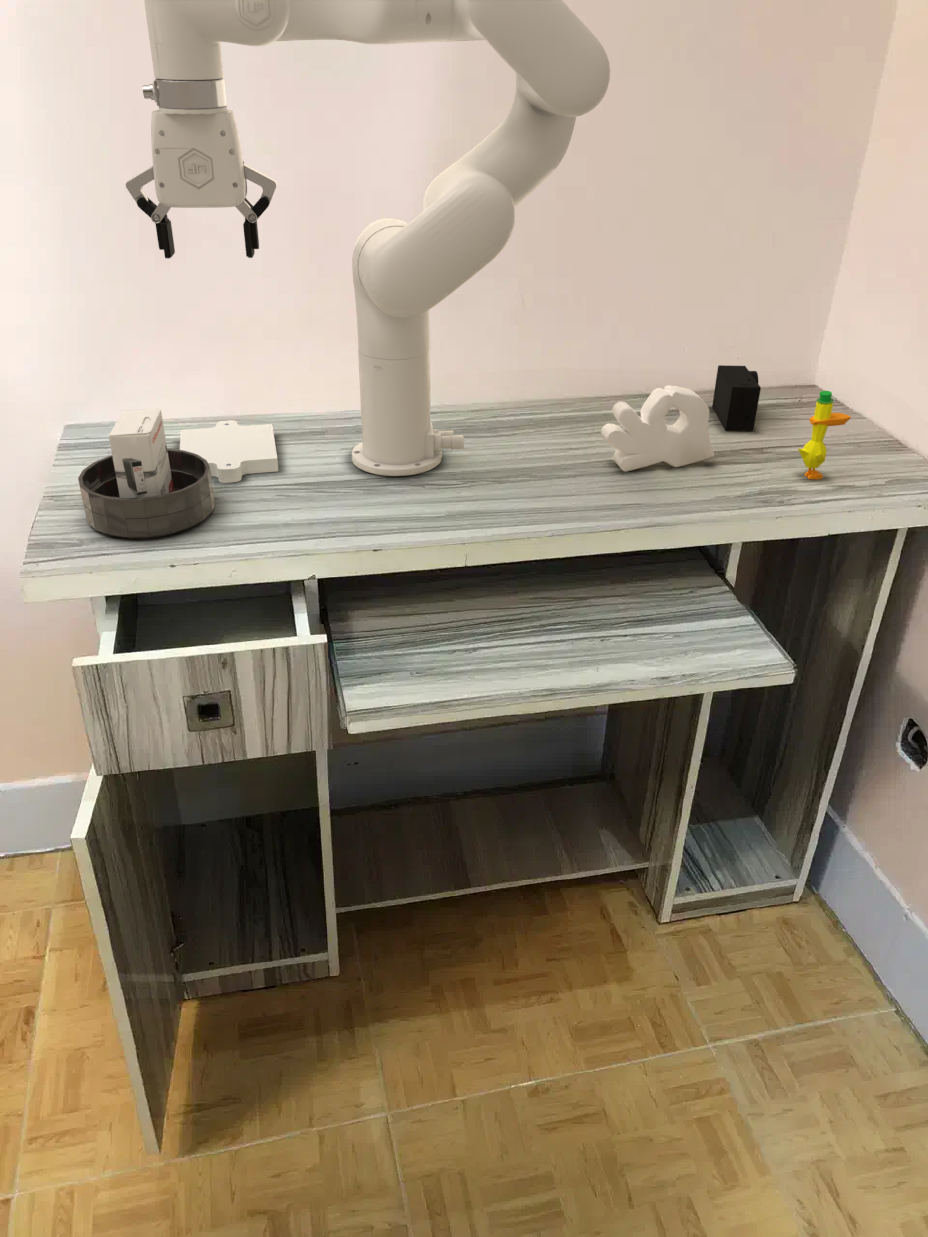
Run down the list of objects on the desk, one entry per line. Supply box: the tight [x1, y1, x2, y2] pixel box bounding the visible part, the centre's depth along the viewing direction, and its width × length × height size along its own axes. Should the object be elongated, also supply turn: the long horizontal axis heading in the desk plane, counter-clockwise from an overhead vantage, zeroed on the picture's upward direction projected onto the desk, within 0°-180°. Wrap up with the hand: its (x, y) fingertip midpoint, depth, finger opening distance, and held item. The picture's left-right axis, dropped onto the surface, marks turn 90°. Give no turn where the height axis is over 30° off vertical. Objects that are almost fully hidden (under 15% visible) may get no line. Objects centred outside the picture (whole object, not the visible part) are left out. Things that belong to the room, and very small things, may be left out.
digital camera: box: [711, 365, 762, 432], centre depth 154 cm, size 10×5×7 cm, turn 179°
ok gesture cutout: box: [600, 384, 715, 473], centre depth 137 cm, size 3×15×11 cm, turn 103°
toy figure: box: [797, 390, 852, 480], centre depth 134 cm, size 7×4×12 cm, turn 101°
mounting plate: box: [179, 419, 279, 484], centre depth 140 cm, size 18×13×2 cm
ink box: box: [108, 408, 174, 498], centre depth 121 cm, size 9×5×12 cm, turn 5°
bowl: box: [77, 448, 216, 540], centre depth 124 cm, size 15×15×6 cm
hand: (210, 255), depth 121 cm, fingers open, 9 cm apart
